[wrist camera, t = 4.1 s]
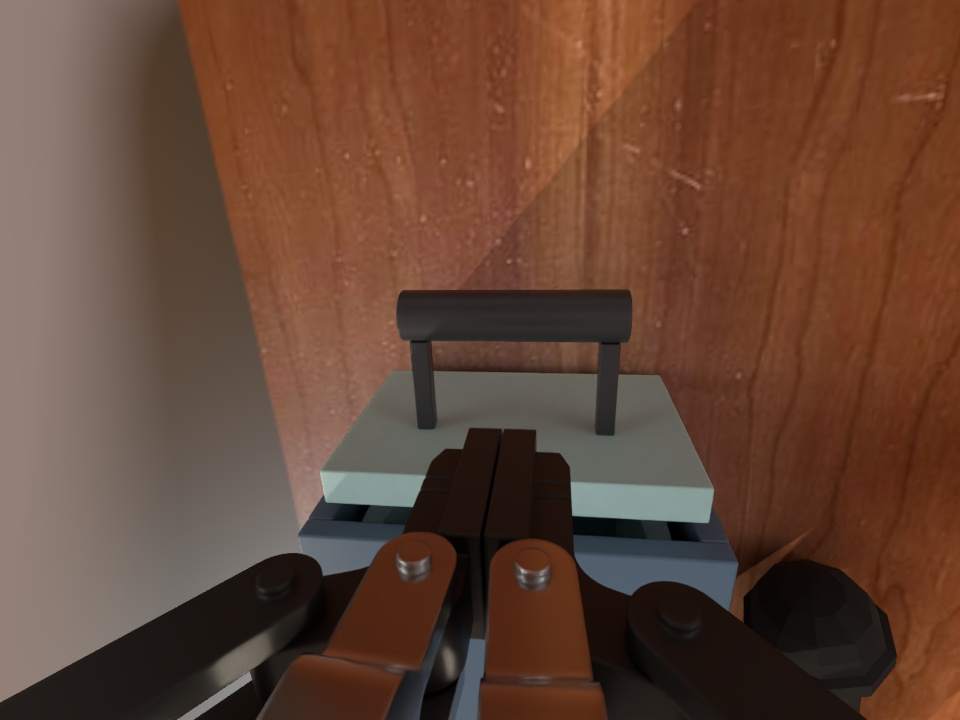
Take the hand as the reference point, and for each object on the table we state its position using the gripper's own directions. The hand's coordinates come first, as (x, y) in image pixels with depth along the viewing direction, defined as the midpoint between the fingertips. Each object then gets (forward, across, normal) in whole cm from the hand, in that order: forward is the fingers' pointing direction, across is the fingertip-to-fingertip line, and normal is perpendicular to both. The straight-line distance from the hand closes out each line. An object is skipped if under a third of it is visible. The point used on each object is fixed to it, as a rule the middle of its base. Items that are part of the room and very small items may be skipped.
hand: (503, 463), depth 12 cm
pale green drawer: (+10, 0, +7) cm, 12 cm away
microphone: (+12, -14, +20) cm, 27 cm away
